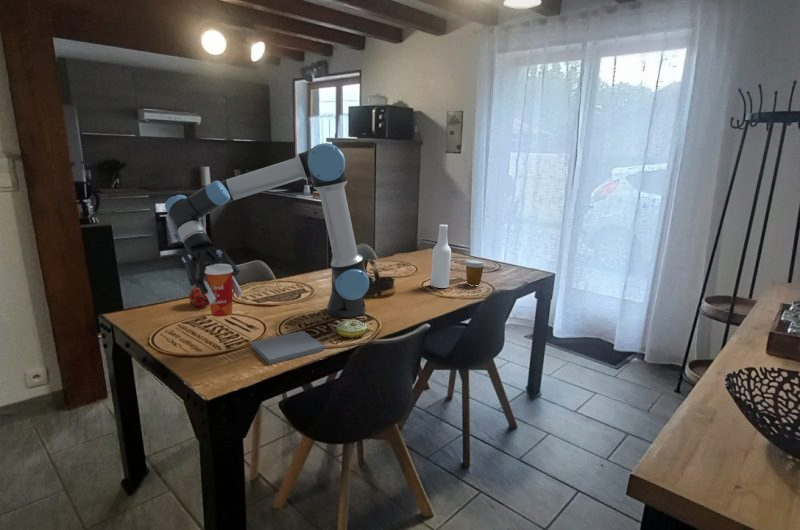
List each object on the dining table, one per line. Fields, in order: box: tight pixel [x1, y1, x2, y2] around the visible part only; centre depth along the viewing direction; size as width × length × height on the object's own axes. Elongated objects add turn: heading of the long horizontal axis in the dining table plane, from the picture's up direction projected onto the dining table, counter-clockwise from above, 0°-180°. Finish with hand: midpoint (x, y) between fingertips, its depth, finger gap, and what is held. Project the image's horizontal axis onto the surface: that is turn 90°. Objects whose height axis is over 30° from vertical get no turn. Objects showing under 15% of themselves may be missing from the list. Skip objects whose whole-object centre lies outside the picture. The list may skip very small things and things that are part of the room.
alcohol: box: [430, 224, 452, 289], centre depth 215 cm, size 9×9×30 cm
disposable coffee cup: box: [464, 258, 486, 285], centre depth 223 cm, size 10×10×12 cm
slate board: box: [250, 330, 325, 365], centre depth 144 cm, size 18×15×2 cm
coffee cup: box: [203, 264, 233, 318], centre depth 139 cm, size 8×8×15 cm
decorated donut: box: [335, 319, 368, 339], centre depth 158 cm, size 10×11×4 cm
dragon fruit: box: [188, 286, 210, 309], centre depth 178 cm, size 8×8×12 cm
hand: (227, 298), depth 138 cm, fingers closed on coffee cup, 8 cm apart
